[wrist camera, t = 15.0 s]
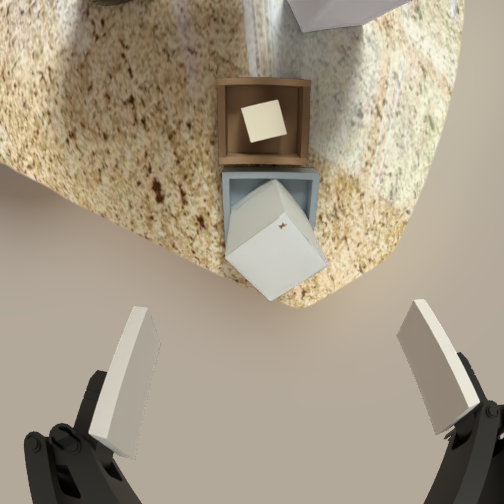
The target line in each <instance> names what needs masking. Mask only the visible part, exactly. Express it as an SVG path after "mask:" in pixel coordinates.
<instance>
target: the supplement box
mask: <svg viewBox="0 0 504 504" xmlns="http://www.w3.org/2000/svg"><path fill="white" fill-rule="evenodd" d="M225 259H226V260H227V261H228V262H229V263H230V264H231V265H232V266H233V267H234V268H235V269H236V270H237V271H238V272H239V273H240V274H241V275H242V276H243V277H244V278H246V279H247V280H248V281H249V282H250V283H251V284H252V285H253V286H254V287H255V288H256V289H257V290H258V291H259V292H260V293H261V294H262V295H263V296H265V297H266V298H267V299H268V300H269V301H273V300H274V299H276V298H278V297H279V296H281V295H282V294H284V293H286V292H287V291H289V290H291V289H292V288H294V287H295V286H297V285H298V284H300V283H301V282H303V281H305V280H306V279H308V278H310V277H311V276H313V275H314V274H316V273H318V272H319V271H321V270H322V269H324V268H326V267H327V266H328V264H327V262H326V259H325V256H324V254H323V252H322V249H321V247H320V245H319V243H318V240H317V238H316V236H315V234H314V232H313V230H312V227H311V225H310V223H309V221H308V219H307V216H306V214H305V212H304V211H303V210H302V208H301V207H300V206H299V204H298V203H297V202H296V200H295V199H294V198H293V197H292V195H291V194H290V193H289V192H288V190H287V189H286V188H285V187H284V186H283V184H282V183H281V182H280V181H279V179H267V180H266V181H264V182H263V183H262V184H260V185H259V186H258V187H256V188H255V189H254V190H253V191H251V192H250V193H249V194H247V195H246V196H245V197H243V198H242V199H241V200H240V201H238V202H237V203H236V204H235V205H233V206H232V208H231V214H230V222H229V230H228V237H227V245H226V253H225Z"/></svg>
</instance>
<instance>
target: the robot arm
mask: <svg viewBox="0 0 504 504" xmlns="http://www.w3.org/2000/svg"><path fill="white" fill-rule="evenodd" d="M89 1H91V2H93V3H95V4H98V5H107V6H108V5H117V4H122V3H125V2H128V1H131V0H89ZM397 338H398V340H399V342H400V344H401V346H402V349H403V351H404V353H405V356H406V358H407V360H408V363H409V365H410V367H411V370H412V372H413V374H414V377H415V379H416V382H417V384H418V387H419V390H420V392H421V395H422V397H423V400H424V403H425V405H426V408H427V411H428V414H429V417H430V419H431V422H432V425H433V428H434V431H435V434H436V435H437V434H440V433H442V432H444V431H446V430H448V429H449V428H451V427H452V426H453V425H454V426H455V428H454V429H453V430H452V431H450V432H449V433H448V434H447V435H446V436H445V438H444V439H447V438H448V437H450V436H451V437H450V438H449V439H448V441H449V444H448V447H447V450H446V453H445V455H444V458H443V461H442V463H441V466H440V469H439V471H438V473H437V476H436V478H435V481H434V483H433V485H432V487H431V489H430V492H429V494H428V496H427V498H426V500H425V502H424V504H504V438H503V439H500V435H501V434H502V433H504V405H497V404H496V403H495V402H494V401H490V400H489V401H488V400H487V398H486V397H485V394H484V392H483V390H482V388H481V386H480V384H479V382H478V380H477V378H476V376H475V375H474V372H473V370H472V369H471V366H470V364H469V362H468V360H467V359H466V357H465V356H464V355H463V354H462V353H461V352H459V353H456V351H455V349H454V348H453V346H452V344H451V342H450V340H449V339H448V337H447V335H446V333H445V332H444V330H443V328H442V326H441V325H440V323H439V322H438V320H437V318H436V317H435V315H434V313H433V312H432V310H431V308H430V307H429V305H428V304H427V302H426V301H425V299H420V300H414V301H413V303H412V305H411V307H410V309H409V312H408V314H407V316H406V318H405V320H404V322H403V324H402V326H401V328H400V330H399V332H398V334H397ZM160 346H161V343H160V340H159V338H158V335H157V333H156V329H155V327H154V324H153V321H152V318H151V315H150V312H149V309H148V307H135V306H134V307H133V309H132V311H131V313H130V316H129V318H128V321H127V323H126V325H125V328H124V330H123V333H122V336H121V338H120V340H119V343H118V346H117V348H116V351H115V353H114V356H113V359H112V362H111V364H110V367H109V370H108V372H104V371H99V370H97V371H96V372H95V374H94V375H93V376H92V377H91V378H90V380H89V383H88V386H87V391H86V392H85V394H84V399H83V400H82V403H81V406H80V409H79V412H78V415H77V419H76V421H75V425H74V427H73V428H72V427H71V426H69V425H68V424H64V423H61V424H57V425H55V426H54V427H53V428H52V429H51V431H50V434H49V437H44V436H43V435H41V434H40V433H38V432H34V431H33V432H30V433H29V434H28V435H27V436H26V438H25V440H24V452H25V461H26V468H27V474H28V481H29V487H30V492H31V497H32V500H33V504H142V503H141V501H140V500H139V499H138V497H137V496H136V494H135V493H134V491H133V490H132V488H131V487H130V485H129V483H128V482H127V480H126V479H125V477H124V475H123V474H122V472H121V470H120V469H119V467H118V465H117V464H116V462H115V460H114V459H113V458H112V457H113V453H116V454H117V455H119V456H122V457H127V458H131V459H135V457H136V451H137V446H138V441H139V436H140V431H141V426H142V421H143V416H144V411H145V407H146V403H147V398H148V394H149V389H150V385H151V381H152V377H153V373H154V369H155V365H156V361H157V357H158V353H159V349H160Z"/></svg>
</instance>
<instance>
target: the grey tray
mask: <svg viewBox="0 0 504 504" xmlns="http://www.w3.org/2000/svg"><path fill="white" fill-rule="evenodd" d="M267 179H279V181H280V182H281V183H282V184H283V186H284V187H285V188H286V189H287V190H288V192H289V193H290V194H291V195H292V197H293V198H294V199H295V200H296V202H297V203H298V204H299V206H300V207H301V208H302V210H303V211H304V212H305V214H306V216H307V219H308V221H309V223H310V225H311V227H312V230H313V232H314V226H315V217H316V208H317V197H318V186H319V173H318V171H317V170H316V169H315V168H305V167H270V166H237V167H224V168H223V171H222V188H223V211H224V232H225V251H226V245H227V237H228V230H229V222H230V214H231V208H232V206H233V205H235V204H236V203H237V202H238V201H240V200H241V199H242V198H243V197H245V196H246V195H247V194H249V193H250V192H251V191H253V190H254V189H255V188H256V187H258V186H259V185H260V184H262V183H263V182H264V181H266V180H267Z"/></svg>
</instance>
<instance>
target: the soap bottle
mask: <svg viewBox="0 0 504 504" xmlns="http://www.w3.org/2000/svg"><path fill="white" fill-rule="evenodd" d="M287 1H288V3H289V5H290V7H291V9H292V11H293V14H294V16H295V18H296V20H297V22H298V25H299V27H300V29H301V31H302V32H303V33H305V32H311V31H317V30H324V29H331V28H339V27H348V26H359V25H364V24H367V23H368V22H370V21H372V20H374V19H376V18H378V17H379V16H381V15H383V14H385V13H387V12H389V11H391V10H393V9H395V8H397V7H399V6H401V5H403V4H405V3H407V2H410V1H412V0H287Z"/></svg>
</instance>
